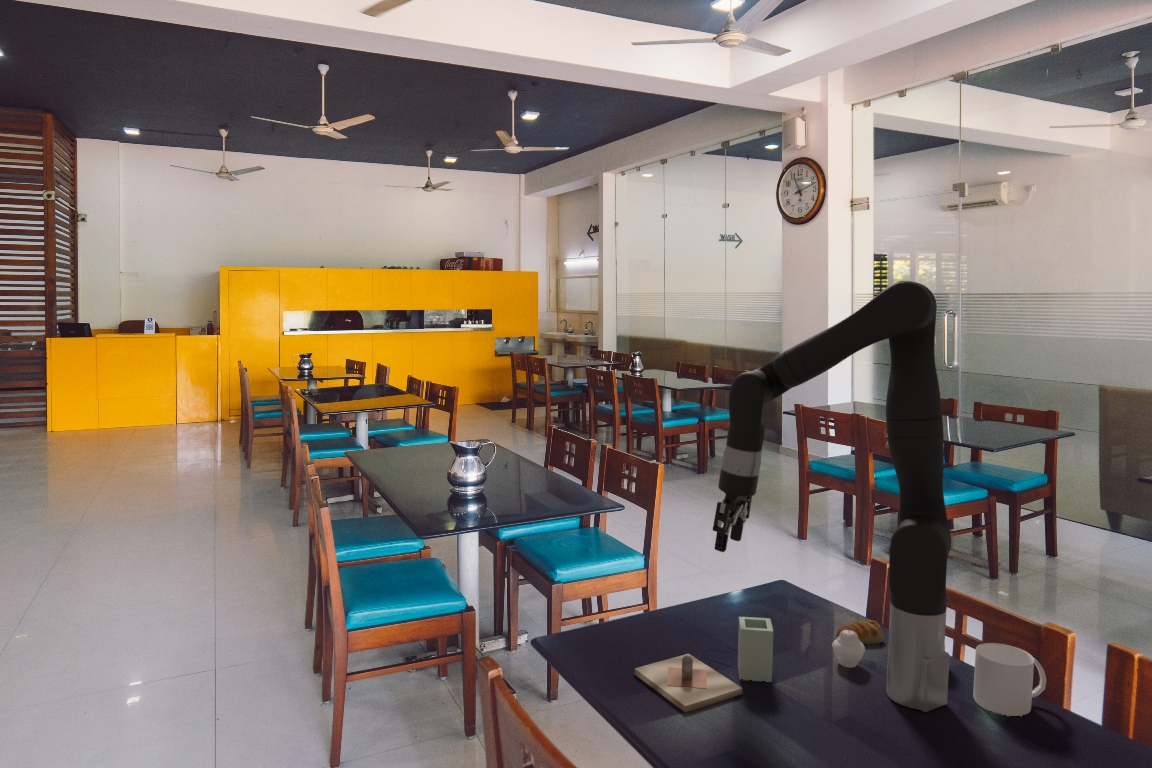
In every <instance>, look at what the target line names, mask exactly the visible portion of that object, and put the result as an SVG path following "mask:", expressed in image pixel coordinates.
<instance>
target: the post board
mask: <svg viewBox="0 0 1152 768" xmlns="http://www.w3.org/2000/svg"><path fill="white" fill-rule="evenodd" d="M634 675H635V676H636V677H637V678H639V679H640V680H641V681H643V682H644V683H646V684H647V685H648V686H649V687H650V688H652V689H654V690H655V691H656V692H657V693H659V695H661V696H663V697H664V698H665V699H667V701H669V702H671V703H672V704H673V705H675V707H677V708H678V709H680V710H681V711H682V712H684V713H688V712H691V711H695V710H697V709H701V708H704V707H707V706H710V705H714V704H716V703H720V702H722V701H725V700H729V699H732V698H735V696H736V697H738V695H739V696H741V694H742V695H743V687H741V686H740V685H738V684H737V683H735V682H733V681H732V680H731V679H729V678H727V677H726V676H724V675H723V674H721V673H720V672H718V671H716V670H715V669H713V668H712V667H711V666H708V665H707V664H706V663H704V662H702V661H701V660H699V659H698V658H697V657H695V656H693V655H691V654H690V653H685V654H683V655H679V656H676V657H671V658H668V659H663V660H660V661H657V662H653V663H652V662H651V663H650V664H646V665H642V666H638V667H635V668H634Z"/></svg>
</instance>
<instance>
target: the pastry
mask: <svg viewBox="0 0 1152 768" xmlns="http://www.w3.org/2000/svg"><path fill="white" fill-rule="evenodd" d="M844 630H850V631H854V632H855V633H856V634H857V635H858V639H859V640H860V642H861V643H862V644H863V645H870V643H874V644H880V643H882V642H883V641H885V636H884V633H883V630H882V628H881V625H880V624H879V623H878V622H877V620H871V619H868V620H854V621H852V622H850V623H849V624H846V625H843V626H841V627H839V628H837V632H836V639H837V638H838V637H839V635H840V633H841V632H842V631H844Z"/></svg>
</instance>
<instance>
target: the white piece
mask: <svg viewBox="0 0 1152 768" xmlns="http://www.w3.org/2000/svg"><path fill="white" fill-rule="evenodd" d="M831 646H832V650H833V653H834V655H835V657H836V659H837V661H838V664H840V666H842V667H845V668H849V669H850V668H851V669H854V668H856V667H857V666H858V664H859V663H860V662H861V659H862V658H863V656H864V654H865V652H866V647H865V644H862V643H861V642H860V640H859V639H858V635H857V634H856V633H855V632H854V631H850V630H844V631H842V632H841V633H840V635H839V637H838V638H837V637H836V639H835V640H833V641H832V645H831Z"/></svg>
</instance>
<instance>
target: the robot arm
mask: <svg viewBox="0 0 1152 768" xmlns="http://www.w3.org/2000/svg"><path fill="white" fill-rule="evenodd" d="M937 309H938V305H937V300H936V298H935V294H933V291H932V290H930V288H928V286H926V285H924V284H922V283H920V282H916V281H910V280H901V281H897V282H894V283H891V284H889V285H888V286H886V287H885V288H884V289H883V290H882V291H881V292H879V293H878V294H877V295H876V296H875V297H874V298H872V299H871V300H870V301H868V302H867V303H865V305H863V306H861V308H859V309H857V310H856V311H855V312H853V313H852V314H851V315H849V316H847V317H846V318H844V319H842V320H840V321H839V322H838V323H836V324H834V325H832V326H830V327H828V328H826V329H824V330H821V331H820V332H818V333H817V334H814V335H813V336H811V337H808V338H807V339H805V340H802V341H800V342H799V343H797V344H795V345H793V346H791V347H790V348H788V349H786V350H784V351H783V352H781V353H780V354H778V355H777V356H776V357H775V358H774V360H771V361H769V362H768V363H766V364H764V365H762V366H760V367H758V368H756V369H753V370H750V371H745V372H742V373H740V374H738V375H737V376H736V377H735V378H734V379H733V381H732V384H731V386H730V389H729V394H728V395H729V397H728V414H729V415H728V416H729V427H728V431H727V439H726V442H725V443H726V445H725V447H724V451H723V454H722V462H721V467H720V473H719V479H718V485H717V487H718V489H719V490H720V491H721V492H723V493H724V494H725V496H724V498H723V499H722V501H717V503H716V507H715V512H714V513H715V514H714V521H713V524H712V525H713V526H712V532H713V531H714V532H716V536H715V540H714V541H715V542H714V550H716V551H717V552H721V553H724V552H726V550H727V547H728V540H729V539H730V540H732V541H735V542H740V541H741V540H742V535H743V531H744V525H745V524H746V522H747V520H748V519H749V518H750V514H751V506H752V499H753V496H755V495H756V493H757V490H758V489H757V488H758V483H759V482H758V481H759V475H760V471H761V464H762V452H763V451H762V449H763V444H764V438H765V433H766V431H765V429H766V428H765V427H766V426H765V423H764V422H763V421H762V416H763V408H764V405H765V404H768V403H770V402H771V401H773V400H775V399H777V398H778V397H780V396H782V395H784V394H785V393H786V392H788V391H790V390H791V389H792V388H795V387H797V386H800V385H803V384H804V383H806V382H808V381H810V380H812V379H814V378H816V377H818V376H820V375H822V374H823V373H825V372H828V371H829V370H830V369H832V368H834V367H836V366H837V365H839V364H840V363H841V362H843V361H844V360H846V359H847V358H849V357H852V355H854V354H855V353H858V352H859V351H861V350H864V349H865V348H867V347H870V346H871V345H874V344H876V343H880V342H881V341H884V340H888V345H889V351H890V371H889V378H888V384H887V392H886V402H885V423H886V437H887V438H886V439H887V445H888V451H889V455H890V458H891V459H890V460H891V462H892V465H893V468H894V472H895V475H896V478H897V483H898V488H899V517H898V518H899V519H898V520H899V521H898V526H897V528H895V531H894V532H893V534H892V536H891V539H890V543H889V544H890V545H889V558H888V560H889V561H888V563H889V564H888V565H889V566H888V588H889V594H890V598H889V599H890V603H889V619H888V620H889V625H888V626H889V628H888V646H887V647H888V648H887V649H888V650H887V668H886V671H887V673H886V695H887V696H888V698H890V700H892V701H893V702H895V703H897V704H899V705H900V706H903V707H905V708H909V709H915V710H920V711H922V712H924V713H927V712H930V711H932V710H935V709H938V708H941V707H943V706H946V705H947V704H948V692H949V688H948V687H949V668H950V653H949V652H948V651H946V650H945V651H944V646H945V647H946V644H945V642H946V625H947V608H948V607H947V605H948V596H947V589H946V588H947V569H948V568H947V567H948V556H949V554H950V551H951V548H952V535H951V531H950V530H951V528H950V525H949V520H948V516H947V509H946V502H945V497H944V485H943V483H944V482H943V481H944V467H945V466H944V464H945V463H944V461H945V460H944V459H945V457H944V456H945V454H944V452H945V451H944V450H945V445H944V440H945V437H944V435H945V434H944V421H943V418H944V417H943V410H942V409H943V408H942V401H941V399H942V398H941V392H940V390H941V389H940V384H939V379H938V377H939V376H938V372H937V368H936V367H937V366H936V359H935V356H936V355H935V354H936V353H935V344H936V343H935V342H936V341H935V338H936V320H937ZM729 535H730V536H729Z"/></svg>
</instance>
